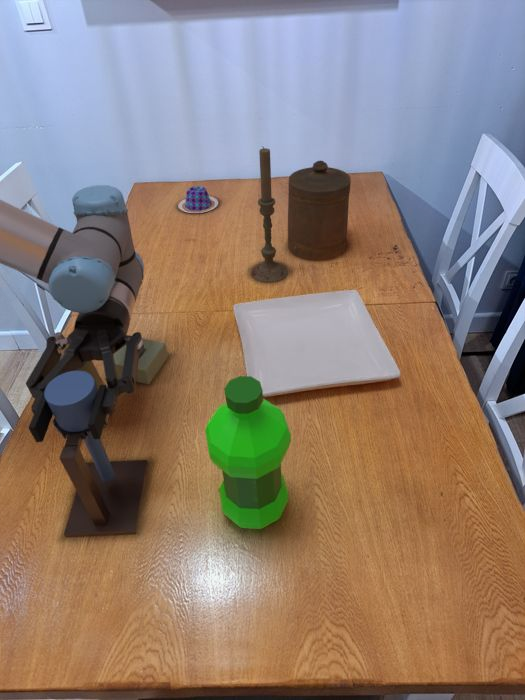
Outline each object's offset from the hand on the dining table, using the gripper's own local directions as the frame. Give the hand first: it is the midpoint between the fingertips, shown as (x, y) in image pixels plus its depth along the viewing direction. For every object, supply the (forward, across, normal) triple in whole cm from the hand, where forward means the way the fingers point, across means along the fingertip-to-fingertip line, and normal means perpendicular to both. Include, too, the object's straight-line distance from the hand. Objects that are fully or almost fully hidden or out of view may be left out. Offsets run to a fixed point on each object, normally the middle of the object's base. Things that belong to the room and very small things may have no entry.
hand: (64, 433), depth 58 cm
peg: (-5, 0, -16) cm, 17 cm away
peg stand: (-2, 0, -19) cm, 20 cm away
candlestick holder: (-63, -26, -20) cm, 71 cm away
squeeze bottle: (-21, +7, -20) cm, 29 cm away
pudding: (-102, -6, -20) cm, 104 cm away
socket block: (-32, 0, -19) cm, 37 cm away
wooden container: (-74, -39, -20) cm, 86 cm away
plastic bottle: (0, -22, -20) cm, 29 cm away
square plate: (-35, -33, -20) cm, 52 cm away
